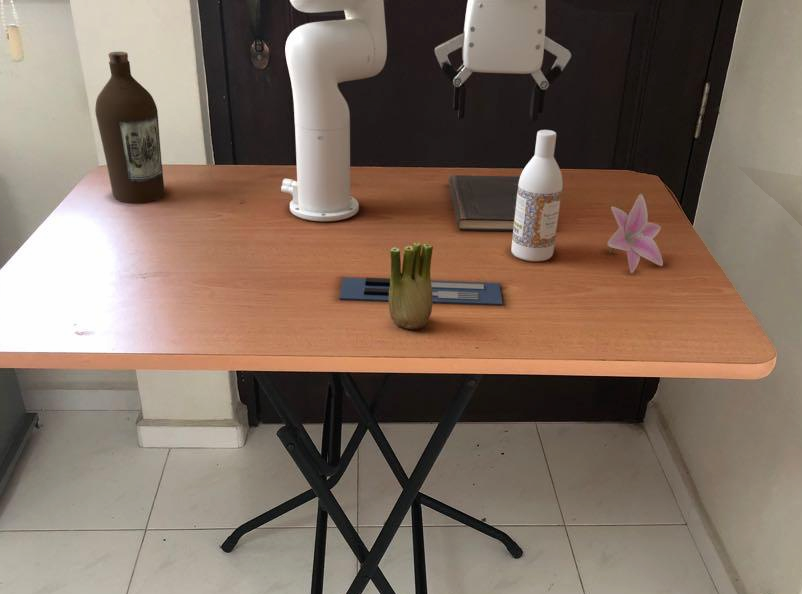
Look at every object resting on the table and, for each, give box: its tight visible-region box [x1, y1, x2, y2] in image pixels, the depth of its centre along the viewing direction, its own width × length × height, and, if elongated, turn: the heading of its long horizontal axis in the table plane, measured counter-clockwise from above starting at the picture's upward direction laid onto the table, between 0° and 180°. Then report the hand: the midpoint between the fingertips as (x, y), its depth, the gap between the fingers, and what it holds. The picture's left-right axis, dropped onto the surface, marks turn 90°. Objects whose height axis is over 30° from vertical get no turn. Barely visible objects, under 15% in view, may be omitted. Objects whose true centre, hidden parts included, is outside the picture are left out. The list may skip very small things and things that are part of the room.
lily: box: [607, 193, 664, 274], centre depth 135 cm, size 12×12×10 cm
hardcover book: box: [448, 174, 521, 233], centre depth 155 cm, size 16×23×2 cm
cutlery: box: [364, 277, 484, 300], centre depth 125 cm, size 18×5×1 cm, turn 88°
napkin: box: [339, 277, 503, 306], centre depth 125 cm, size 24×7×1 cm, turn 88°
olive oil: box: [94, 51, 165, 204], centre depth 149 cm, size 11×11×25 cm
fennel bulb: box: [388, 242, 434, 330], centre depth 113 cm, size 6×5×12 cm
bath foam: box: [510, 129, 563, 262], centre depth 132 cm, size 7×7×20 cm
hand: (497, 117), depth 110 cm, fingers open, 9 cm apart
